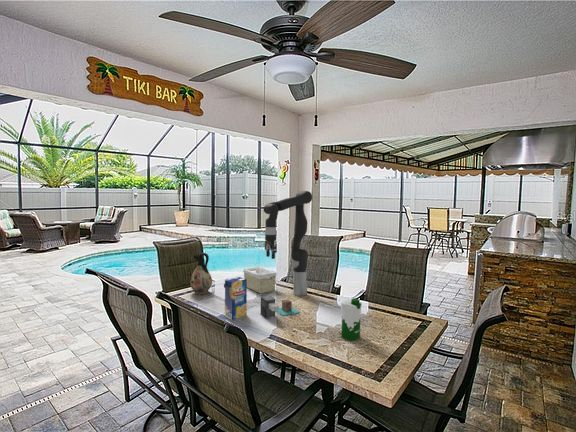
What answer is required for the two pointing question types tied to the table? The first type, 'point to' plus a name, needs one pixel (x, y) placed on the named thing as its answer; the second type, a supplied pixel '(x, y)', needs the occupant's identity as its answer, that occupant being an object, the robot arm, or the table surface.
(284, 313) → the mat
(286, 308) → the block
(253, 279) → the storage basket
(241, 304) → the blue yellow food box
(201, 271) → the ceramic jug
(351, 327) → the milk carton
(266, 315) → the block
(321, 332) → the table surface
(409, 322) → the table surface
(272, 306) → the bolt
